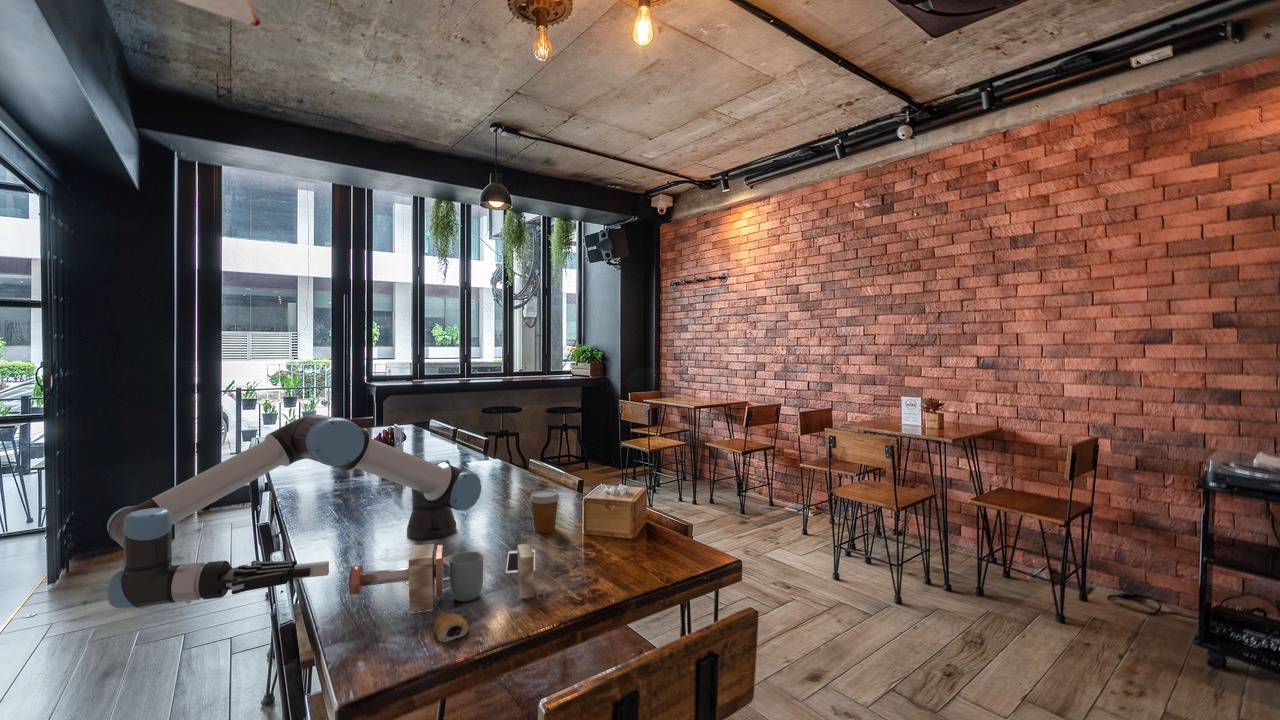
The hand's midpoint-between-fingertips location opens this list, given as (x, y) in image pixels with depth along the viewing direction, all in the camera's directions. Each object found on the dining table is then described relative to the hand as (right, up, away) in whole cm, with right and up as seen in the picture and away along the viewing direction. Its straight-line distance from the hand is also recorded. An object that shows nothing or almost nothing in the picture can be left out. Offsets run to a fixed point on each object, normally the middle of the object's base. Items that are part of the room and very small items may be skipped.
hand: (328, 568), depth 128 cm
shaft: (+14, -8, +5) cm, 17 cm away
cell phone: (+37, -10, +32) cm, 50 cm away
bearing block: (+19, -11, +6) cm, 23 cm away
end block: (+42, -10, +13) cm, 45 cm away
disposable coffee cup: (+39, -9, +59) cm, 71 cm away
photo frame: (+16, -11, +25) cm, 32 cm away
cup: (+28, -11, +9) cm, 32 cm away
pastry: (+30, -12, -7) cm, 33 cm away
